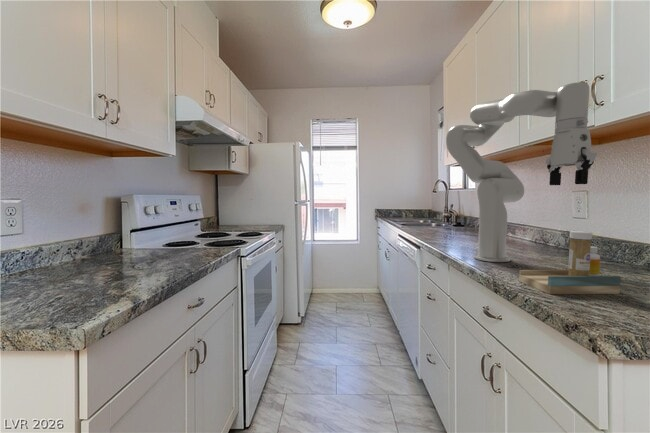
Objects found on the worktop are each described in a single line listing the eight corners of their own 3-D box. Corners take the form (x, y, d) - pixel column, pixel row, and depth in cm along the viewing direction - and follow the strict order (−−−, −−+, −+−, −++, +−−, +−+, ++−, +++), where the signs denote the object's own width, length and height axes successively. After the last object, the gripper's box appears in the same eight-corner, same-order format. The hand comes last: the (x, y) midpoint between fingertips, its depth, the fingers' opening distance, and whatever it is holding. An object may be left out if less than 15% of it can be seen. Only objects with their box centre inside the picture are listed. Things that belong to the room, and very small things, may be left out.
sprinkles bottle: (585, 284, 78) (588, 232, 77) (564, 280, 82) (566, 231, 81) (592, 281, 81) (595, 231, 80) (571, 277, 84) (573, 229, 83)
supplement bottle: (604, 281, 88) (606, 248, 88) (585, 281, 88) (587, 248, 88) (588, 276, 94) (590, 245, 93) (570, 276, 94) (572, 245, 93)
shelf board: (518, 280, 89) (519, 266, 88) (579, 280, 89) (580, 265, 89) (549, 294, 77) (550, 277, 76) (619, 293, 77) (620, 276, 77)
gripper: (610, 120, 82) (606, 183, 83) (560, 133, 99) (557, 185, 101) (583, 120, 82) (579, 183, 83) (537, 133, 99) (535, 185, 101)
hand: (567, 184), depth 92 cm, fingers open, 9 cm apart
